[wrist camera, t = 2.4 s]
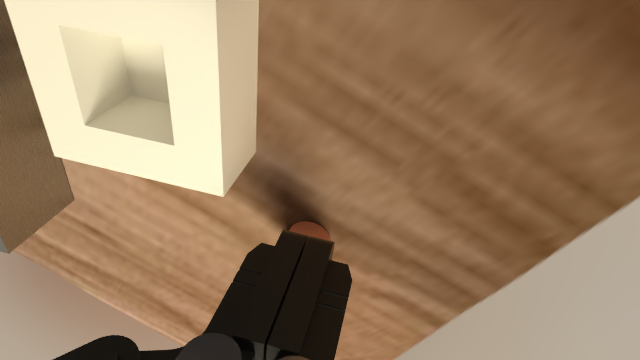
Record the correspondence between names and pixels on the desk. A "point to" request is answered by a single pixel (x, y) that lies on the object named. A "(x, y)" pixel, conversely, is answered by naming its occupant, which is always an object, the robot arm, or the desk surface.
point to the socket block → (146, 84)
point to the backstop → (24, 151)
